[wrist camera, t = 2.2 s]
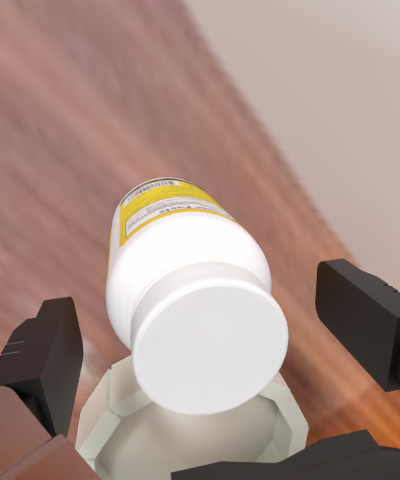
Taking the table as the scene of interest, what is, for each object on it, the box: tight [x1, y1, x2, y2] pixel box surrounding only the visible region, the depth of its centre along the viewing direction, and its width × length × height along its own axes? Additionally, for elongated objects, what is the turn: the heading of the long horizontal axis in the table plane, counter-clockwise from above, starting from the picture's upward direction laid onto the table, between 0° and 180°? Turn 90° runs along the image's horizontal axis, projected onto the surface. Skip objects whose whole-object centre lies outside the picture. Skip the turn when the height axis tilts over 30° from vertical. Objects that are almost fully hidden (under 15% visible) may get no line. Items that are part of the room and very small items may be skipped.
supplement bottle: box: [106, 177, 288, 415], centre depth 13 cm, size 5×5×10 cm
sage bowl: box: [75, 355, 309, 480], centre depth 21 cm, size 13×13×3 cm
